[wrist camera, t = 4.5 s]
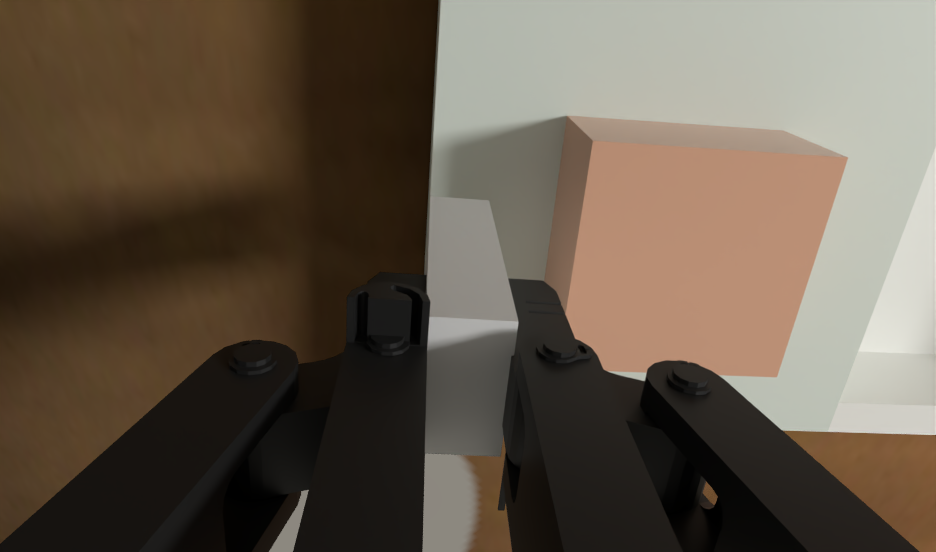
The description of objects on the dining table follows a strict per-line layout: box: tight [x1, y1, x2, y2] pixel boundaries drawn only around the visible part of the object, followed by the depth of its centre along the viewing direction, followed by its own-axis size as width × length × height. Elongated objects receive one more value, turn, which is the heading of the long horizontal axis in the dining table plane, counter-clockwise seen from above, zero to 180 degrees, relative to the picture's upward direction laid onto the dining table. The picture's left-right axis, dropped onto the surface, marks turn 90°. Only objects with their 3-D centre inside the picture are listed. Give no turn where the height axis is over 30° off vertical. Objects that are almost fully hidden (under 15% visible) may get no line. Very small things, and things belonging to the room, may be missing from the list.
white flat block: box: [424, 0, 936, 432], centre depth 20 cm, size 14×14×4 cm
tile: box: [544, 116, 848, 377], centre depth 17 cm, size 6×6×3 cm
